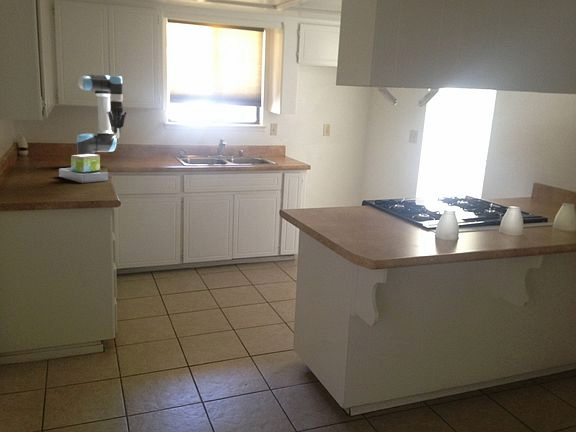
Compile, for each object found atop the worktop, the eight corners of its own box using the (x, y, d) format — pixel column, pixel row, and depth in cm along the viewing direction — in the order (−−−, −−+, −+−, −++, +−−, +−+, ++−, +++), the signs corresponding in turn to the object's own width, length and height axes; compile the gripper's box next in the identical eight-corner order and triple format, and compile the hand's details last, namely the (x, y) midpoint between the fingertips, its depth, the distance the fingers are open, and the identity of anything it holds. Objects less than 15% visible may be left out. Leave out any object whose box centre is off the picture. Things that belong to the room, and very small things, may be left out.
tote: (84, 174, 343) (84, 166, 342) (108, 180, 324) (107, 172, 323) (59, 176, 330) (58, 168, 329) (82, 183, 312) (82, 174, 311)
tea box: (84, 180, 320) (83, 156, 317) (71, 179, 323) (69, 155, 320) (100, 177, 334) (100, 154, 331) (88, 176, 337) (87, 153, 334)
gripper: (122, 101, 342) (123, 137, 347) (104, 100, 332) (105, 138, 338) (128, 101, 337) (129, 138, 342) (110, 101, 328) (111, 139, 333)
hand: (117, 138), depth 340 cm, fingers closed
